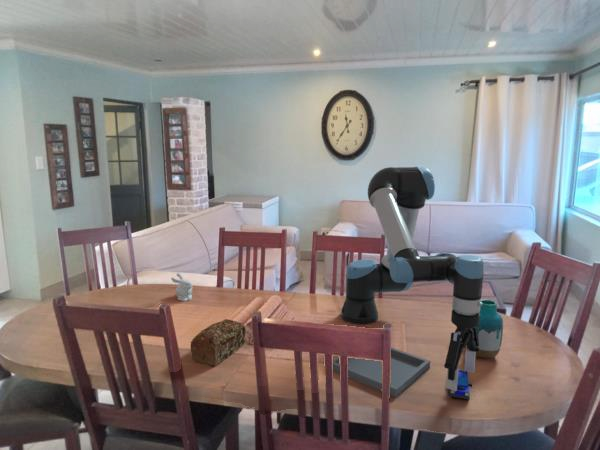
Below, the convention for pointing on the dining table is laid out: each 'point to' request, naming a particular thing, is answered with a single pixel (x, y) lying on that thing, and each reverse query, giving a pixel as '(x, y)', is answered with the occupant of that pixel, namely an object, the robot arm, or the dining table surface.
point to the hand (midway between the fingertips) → (460, 379)
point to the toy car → (462, 386)
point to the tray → (402, 371)
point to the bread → (217, 342)
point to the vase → (489, 330)
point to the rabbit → (183, 288)
